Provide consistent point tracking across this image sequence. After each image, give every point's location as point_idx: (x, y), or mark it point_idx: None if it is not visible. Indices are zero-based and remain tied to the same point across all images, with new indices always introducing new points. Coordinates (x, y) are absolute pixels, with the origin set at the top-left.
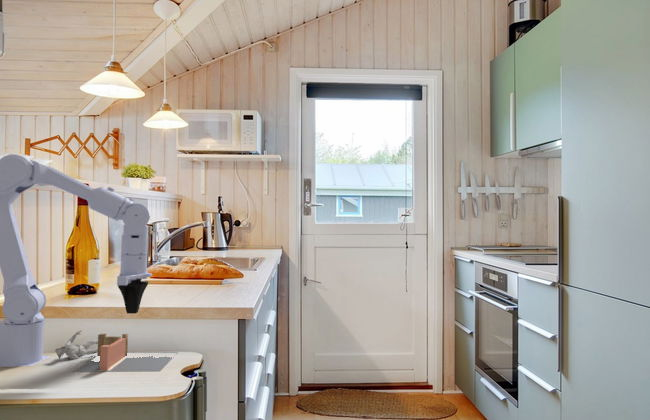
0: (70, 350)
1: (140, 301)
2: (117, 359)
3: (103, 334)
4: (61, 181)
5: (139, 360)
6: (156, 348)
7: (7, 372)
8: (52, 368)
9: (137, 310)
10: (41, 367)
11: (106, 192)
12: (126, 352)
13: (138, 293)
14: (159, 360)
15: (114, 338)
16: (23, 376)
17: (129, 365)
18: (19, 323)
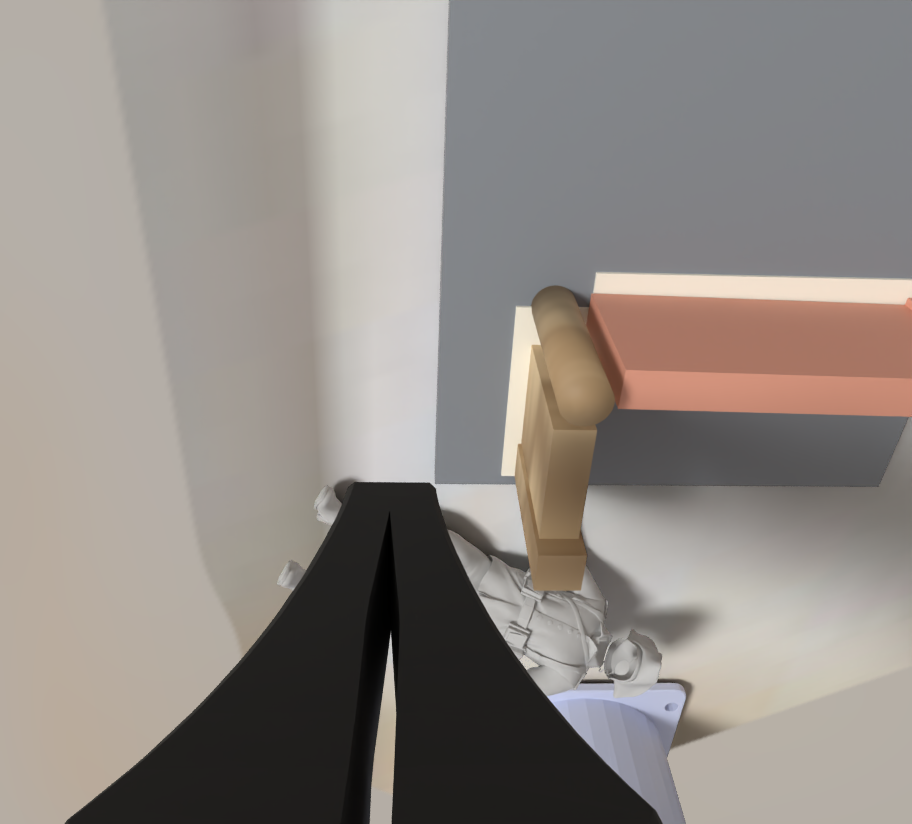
0: (606, 632)
1: (319, 574)
2: (754, 306)
3: (565, 563)
4: None
5: (723, 136)
6: (197, 116)
7: (715, 728)
8: (695, 604)
9: (393, 496)
10: (662, 652)
11: None
12: (572, 302)
13: (555, 708)
14: None
15: (587, 460)
16: (806, 656)
17: (857, 176)
18: None
